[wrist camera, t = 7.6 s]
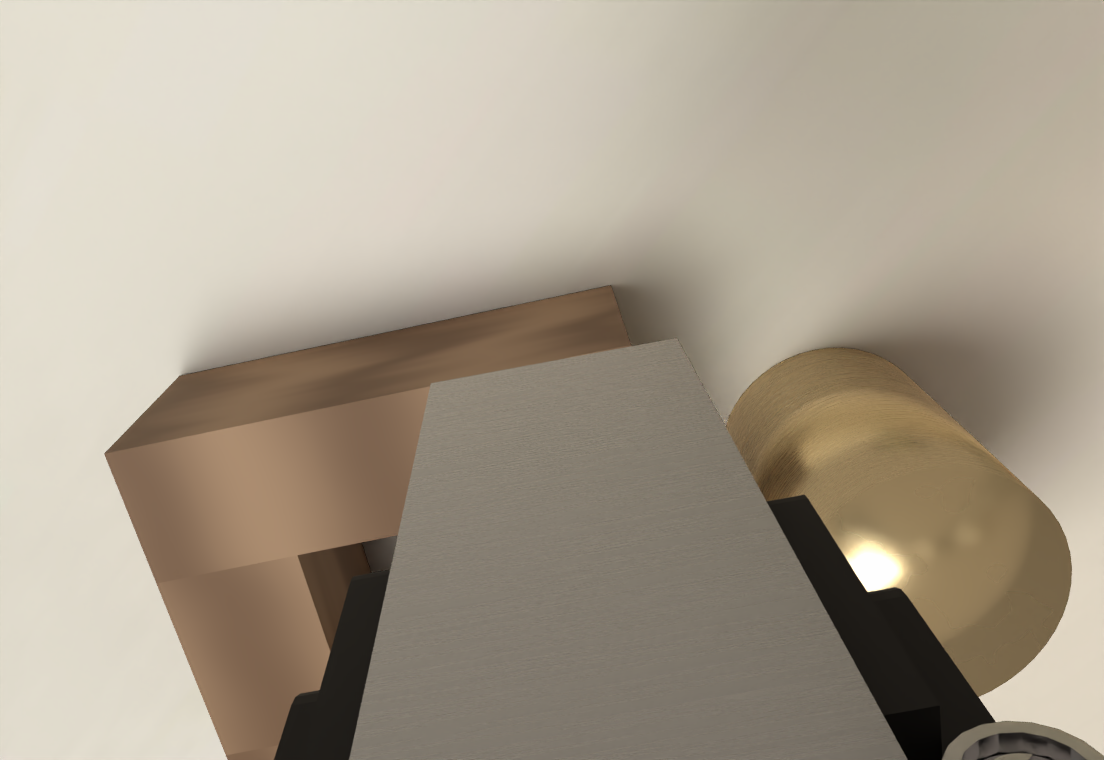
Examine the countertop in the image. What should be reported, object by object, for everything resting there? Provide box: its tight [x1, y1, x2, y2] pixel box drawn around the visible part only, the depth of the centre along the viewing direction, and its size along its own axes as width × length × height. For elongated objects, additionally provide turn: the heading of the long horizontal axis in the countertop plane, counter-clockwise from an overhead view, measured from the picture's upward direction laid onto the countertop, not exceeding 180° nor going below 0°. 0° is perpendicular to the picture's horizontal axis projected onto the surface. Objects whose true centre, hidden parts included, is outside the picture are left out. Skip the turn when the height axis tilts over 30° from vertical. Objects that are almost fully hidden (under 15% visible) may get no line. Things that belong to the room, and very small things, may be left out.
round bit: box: [726, 348, 1072, 697], centre depth 29 cm, size 7×7×9 cm
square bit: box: [349, 338, 907, 760], centre depth 11 cm, size 4×4×12 cm
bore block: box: [104, 285, 631, 760], centre depth 31 cm, size 14×14×6 cm
